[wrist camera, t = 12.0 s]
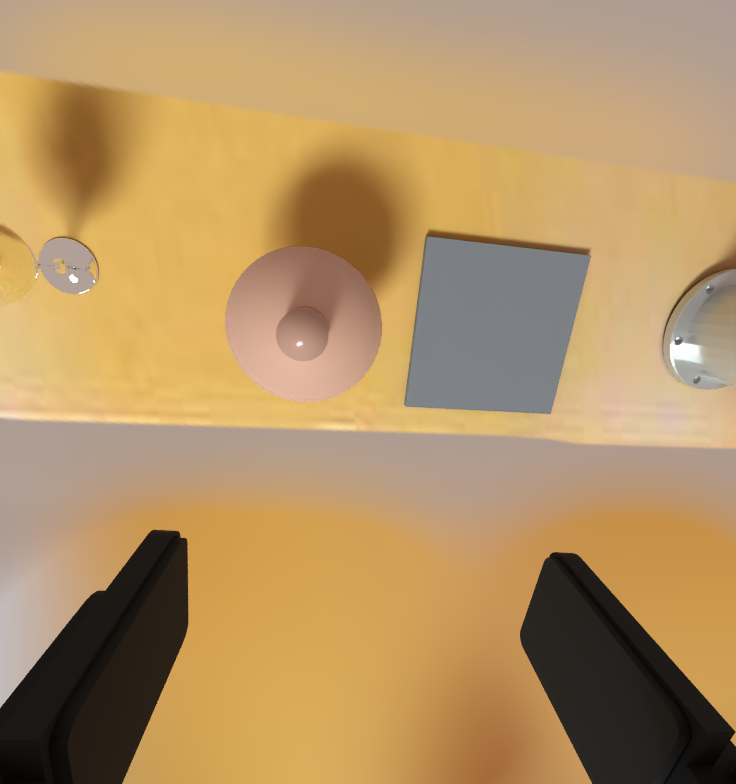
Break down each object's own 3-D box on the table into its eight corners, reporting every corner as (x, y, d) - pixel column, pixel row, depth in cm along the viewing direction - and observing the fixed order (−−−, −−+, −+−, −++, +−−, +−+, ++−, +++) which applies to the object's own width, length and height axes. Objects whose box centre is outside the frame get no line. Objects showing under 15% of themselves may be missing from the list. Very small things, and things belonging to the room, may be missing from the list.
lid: (408, 335, 27) (423, 345, 23) (302, 424, 28) (297, 450, 24) (311, 212, 24) (307, 195, 19) (195, 318, 25) (168, 325, 21)
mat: (586, 256, 34) (591, 255, 33) (547, 412, 38) (550, 414, 38) (425, 237, 31) (427, 236, 31) (404, 404, 36) (405, 406, 35)
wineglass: (32, 218, 28) (-173, 172, 16) (110, 243, 29) (-31, 215, 18) (28, 290, 29) (-163, 293, 18) (103, 311, 30) (-33, 327, 19)
